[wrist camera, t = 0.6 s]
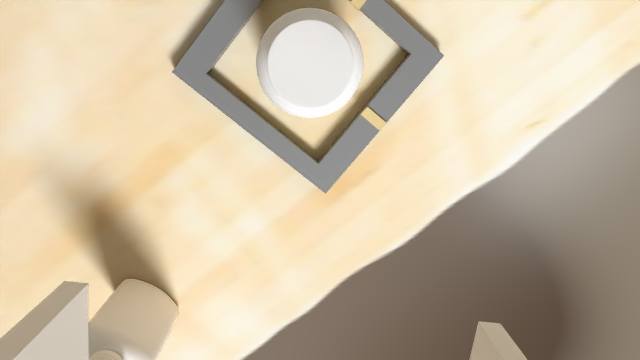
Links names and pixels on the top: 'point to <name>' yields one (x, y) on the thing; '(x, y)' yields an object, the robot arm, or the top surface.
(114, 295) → the eye dropper bottle
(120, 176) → the top surface
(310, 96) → the pill bottle
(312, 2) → the top surface
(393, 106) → the socket plate
